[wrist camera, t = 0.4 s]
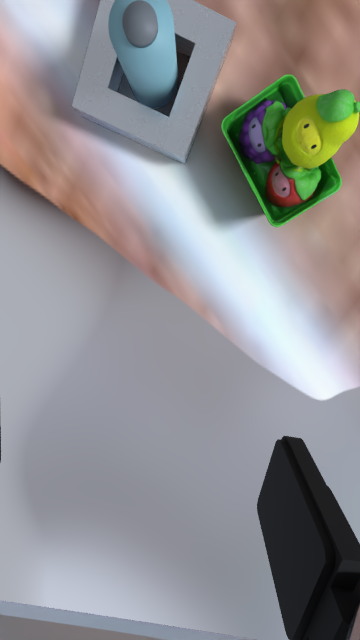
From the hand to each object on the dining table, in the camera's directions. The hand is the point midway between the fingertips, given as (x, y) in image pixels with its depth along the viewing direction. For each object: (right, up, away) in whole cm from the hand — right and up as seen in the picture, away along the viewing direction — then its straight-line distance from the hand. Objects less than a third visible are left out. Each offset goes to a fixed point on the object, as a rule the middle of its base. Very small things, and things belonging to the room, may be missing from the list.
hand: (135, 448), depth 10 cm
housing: (-1, +29, +22) cm, 36 cm away
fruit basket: (+12, +22, +24) cm, 34 cm away
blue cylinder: (-1, +29, +22) cm, 36 cm away
